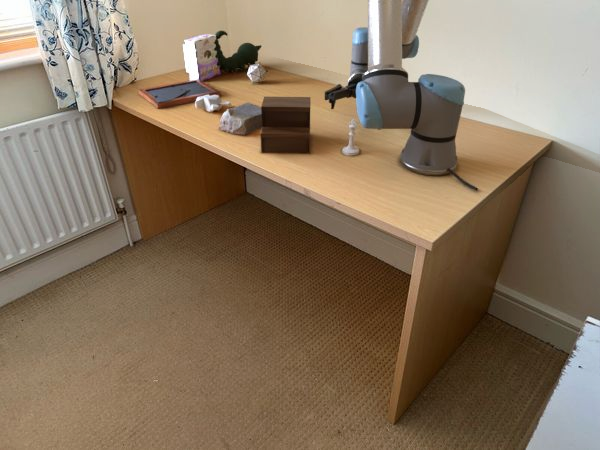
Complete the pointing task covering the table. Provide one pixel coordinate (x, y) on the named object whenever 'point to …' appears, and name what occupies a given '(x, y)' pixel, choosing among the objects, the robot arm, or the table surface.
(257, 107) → the geological specimen
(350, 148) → the chess piece
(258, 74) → the game die
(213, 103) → the bunny figurine
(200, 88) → the picture frame
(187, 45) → the candy box
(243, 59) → the toy figurine
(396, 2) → the robot arm
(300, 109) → the step shelf
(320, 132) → the table surface
